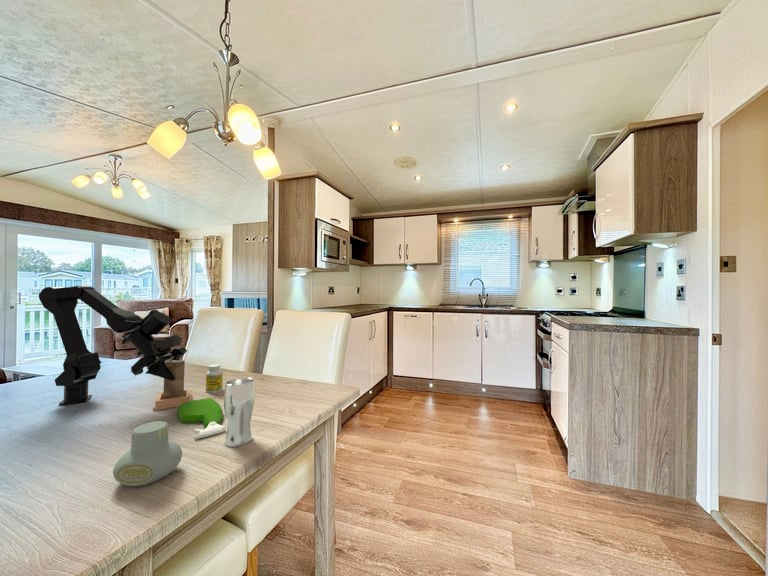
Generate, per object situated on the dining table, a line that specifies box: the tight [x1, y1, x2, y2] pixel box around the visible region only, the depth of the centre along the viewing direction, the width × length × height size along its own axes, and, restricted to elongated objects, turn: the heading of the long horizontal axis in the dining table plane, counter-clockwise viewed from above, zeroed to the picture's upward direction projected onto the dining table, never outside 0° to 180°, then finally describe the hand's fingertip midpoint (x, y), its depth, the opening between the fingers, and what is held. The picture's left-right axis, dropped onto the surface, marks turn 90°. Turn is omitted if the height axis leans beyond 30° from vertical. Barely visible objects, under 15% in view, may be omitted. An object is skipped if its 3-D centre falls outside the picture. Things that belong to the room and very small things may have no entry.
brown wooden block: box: [163, 359, 186, 400], centre depth 100 cm, size 4×4×12 cm
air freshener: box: [112, 420, 183, 487], centre depth 60 cm, size 11×8×10 cm
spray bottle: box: [177, 397, 227, 440], centre depth 87 cm, size 3×11×24 cm
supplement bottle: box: [205, 363, 223, 394], centre depth 112 cm, size 5×5×10 cm
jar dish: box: [152, 388, 193, 411], centre depth 100 cm, size 10×10×2 cm
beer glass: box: [223, 377, 256, 448], centre depth 75 cm, size 7×7×15 cm
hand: (178, 377), depth 100 cm, fingers closed on brown wooden block, 4 cm apart
